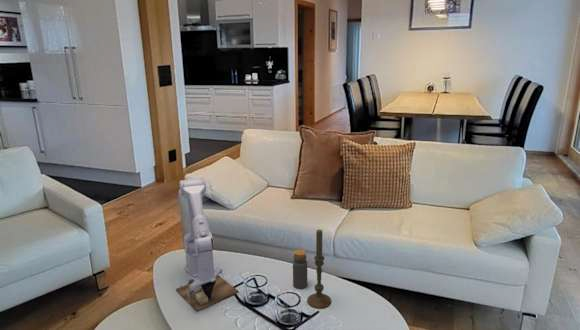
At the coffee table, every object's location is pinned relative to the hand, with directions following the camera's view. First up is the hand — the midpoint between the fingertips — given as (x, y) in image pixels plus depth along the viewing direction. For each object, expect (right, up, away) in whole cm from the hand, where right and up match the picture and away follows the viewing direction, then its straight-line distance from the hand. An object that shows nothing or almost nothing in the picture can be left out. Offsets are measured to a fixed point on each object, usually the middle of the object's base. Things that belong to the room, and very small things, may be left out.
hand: (208, 297), depth 149 cm
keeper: (-5, 0, +2) cm, 6 cm away
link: (-5, 0, +3) cm, 6 cm away
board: (-2, 0, +7) cm, 7 cm away
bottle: (+35, +1, +10) cm, 37 cm away
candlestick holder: (+42, -1, -1) cm, 42 cm away
